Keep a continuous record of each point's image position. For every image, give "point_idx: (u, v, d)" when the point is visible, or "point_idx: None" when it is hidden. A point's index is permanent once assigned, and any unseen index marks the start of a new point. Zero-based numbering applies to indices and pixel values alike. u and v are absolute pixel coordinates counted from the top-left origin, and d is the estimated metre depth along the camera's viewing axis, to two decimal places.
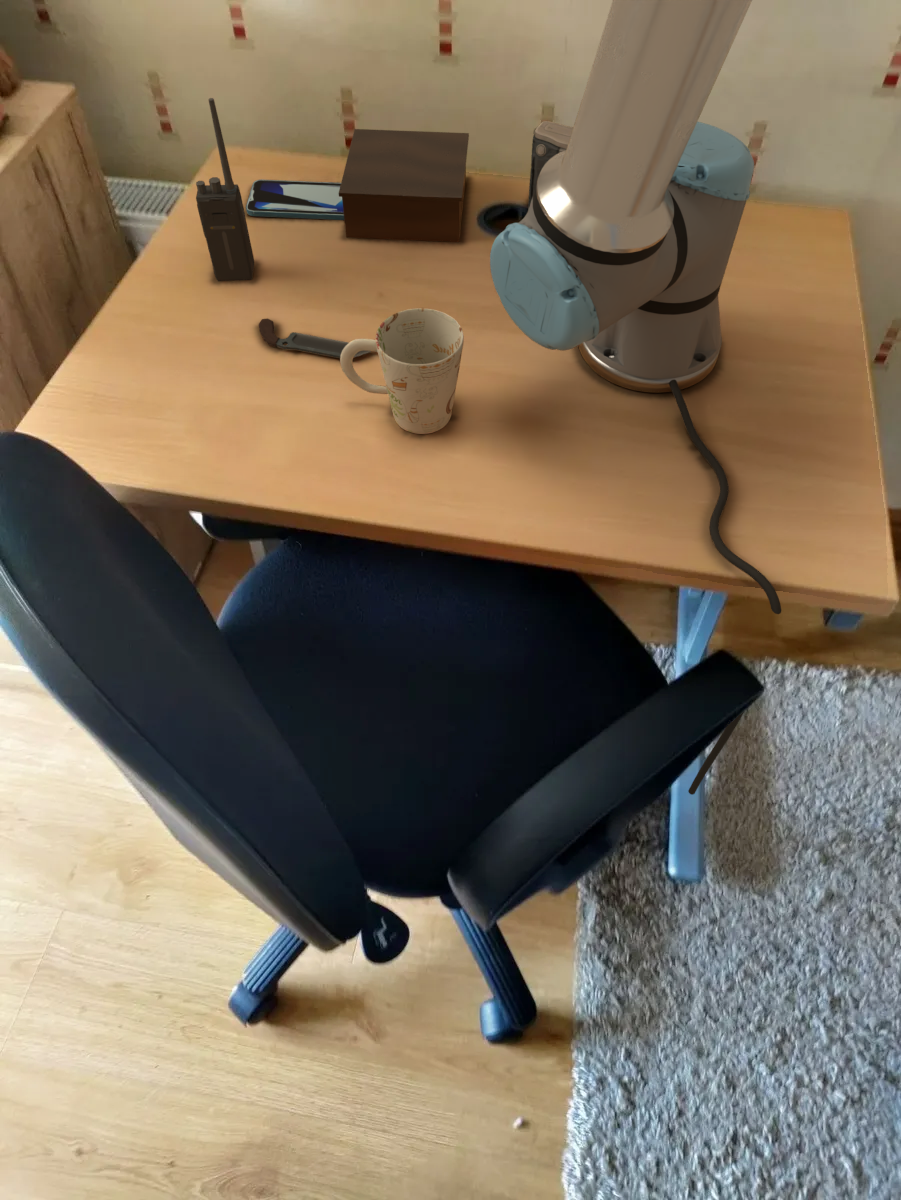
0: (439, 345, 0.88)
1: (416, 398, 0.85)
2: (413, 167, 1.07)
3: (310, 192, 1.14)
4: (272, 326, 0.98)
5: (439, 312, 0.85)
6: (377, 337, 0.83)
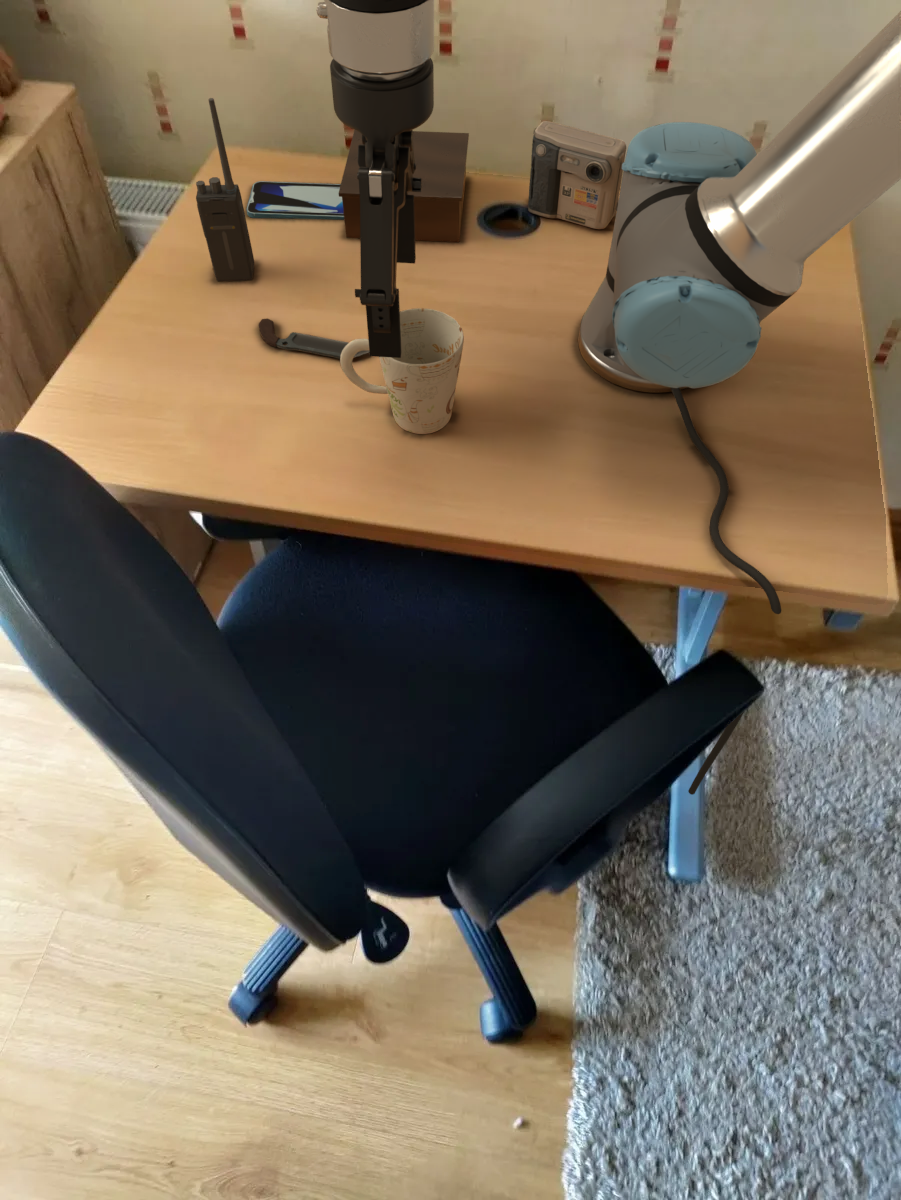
0: (439, 345, 0.88)
1: (416, 398, 0.85)
2: None
3: (310, 193, 1.14)
4: (272, 326, 0.98)
5: (439, 312, 0.85)
6: None
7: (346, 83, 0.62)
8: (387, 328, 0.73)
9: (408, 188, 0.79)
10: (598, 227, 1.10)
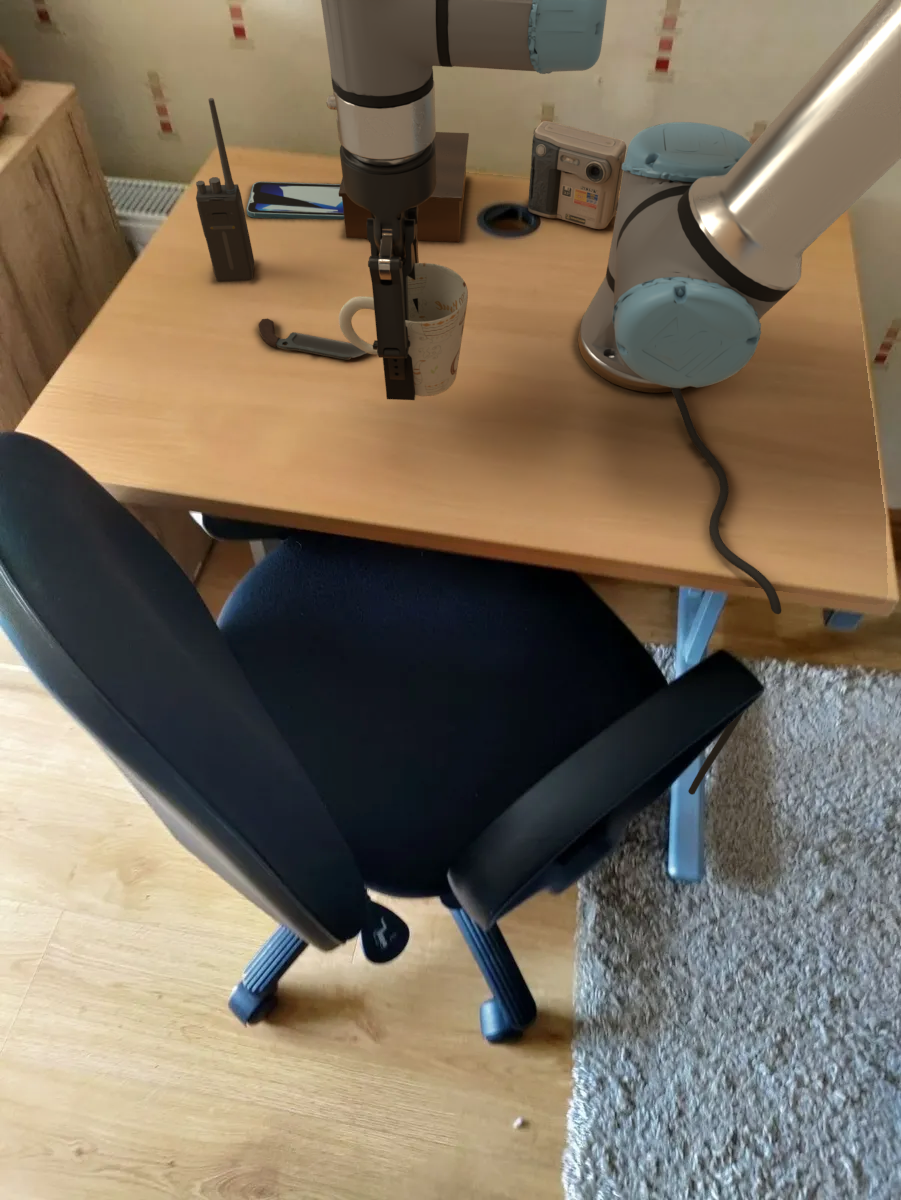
0: (442, 302, 0.84)
1: (419, 358, 0.81)
2: None
3: (310, 193, 1.14)
4: (272, 326, 0.98)
5: (441, 267, 0.81)
6: None
7: (355, 168, 0.67)
8: (402, 375, 0.81)
9: None
10: (598, 227, 1.10)
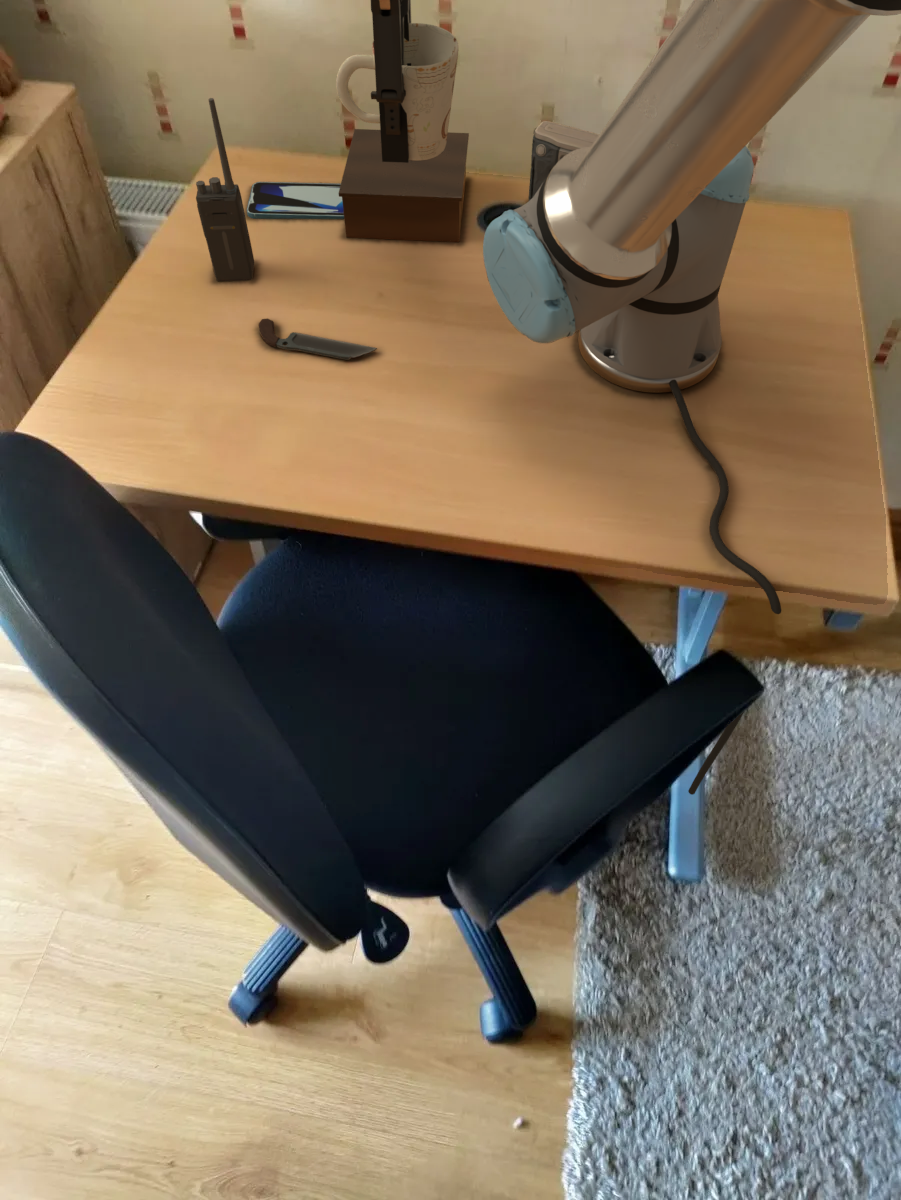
0: None
1: (413, 112, 0.87)
2: (413, 167, 1.07)
3: (309, 193, 1.14)
4: (272, 326, 0.98)
5: (433, 26, 0.87)
6: (373, 46, 0.85)
7: None
8: (397, 129, 0.87)
9: None
10: None
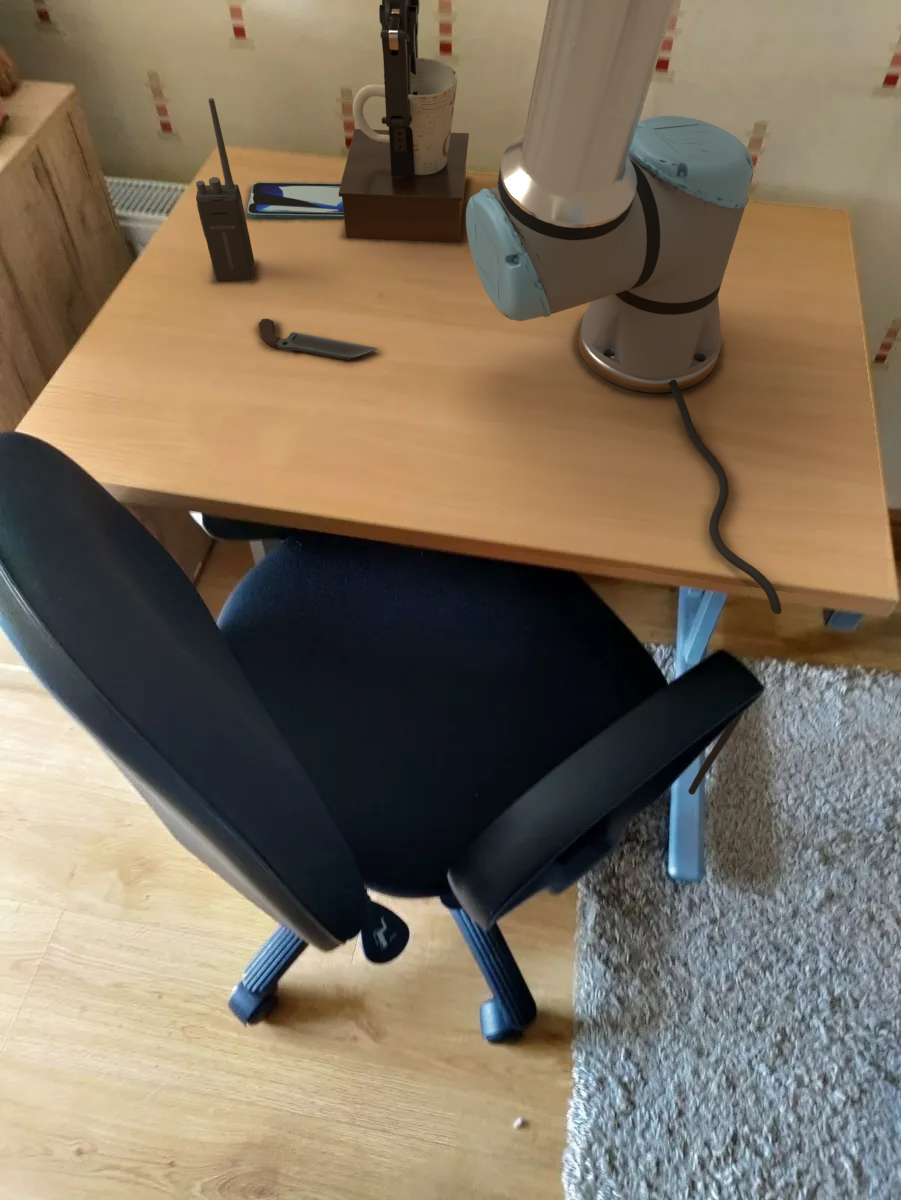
0: None
1: (417, 133, 1.01)
2: None
3: (309, 193, 1.14)
4: (272, 326, 0.98)
5: (436, 61, 1.01)
6: None
7: None
8: (404, 149, 1.02)
9: None
10: None
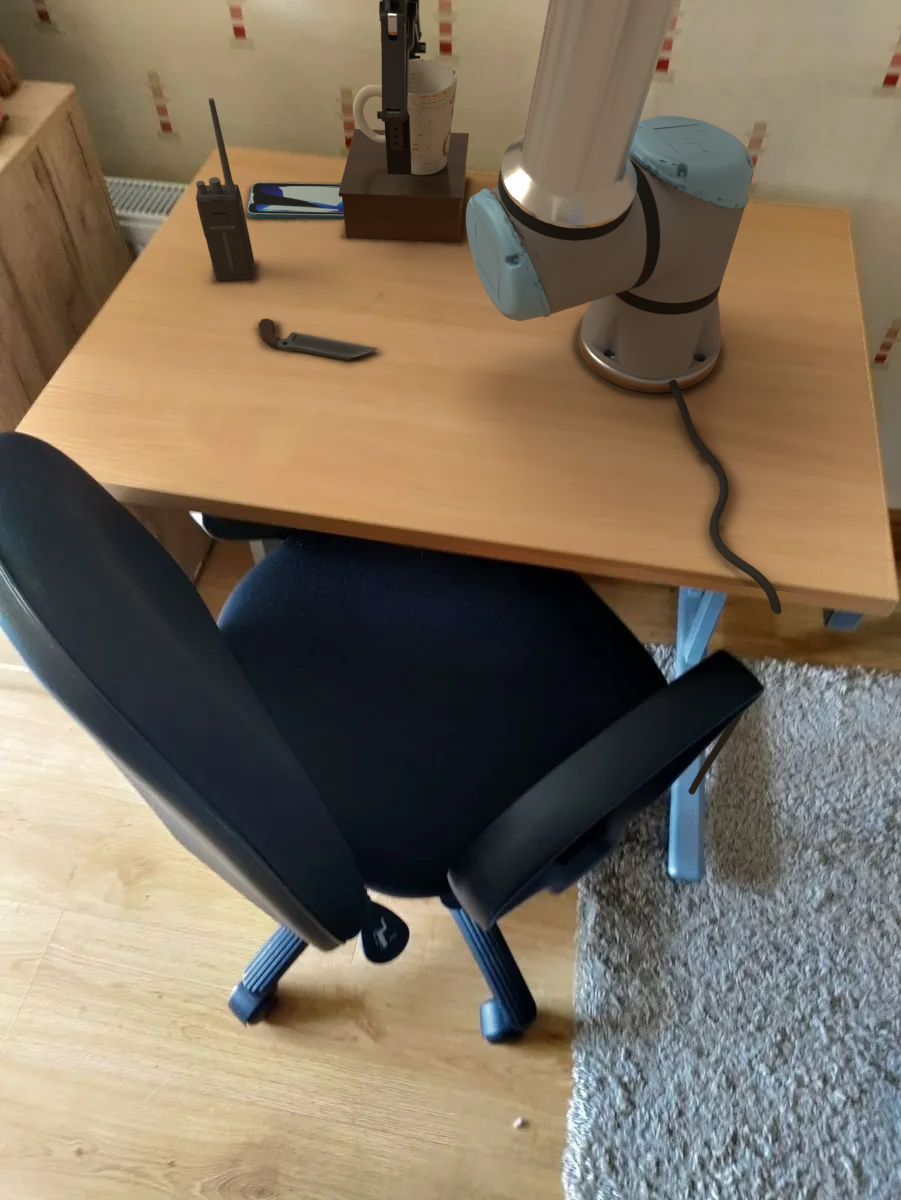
0: None
1: (417, 132, 1.01)
2: None
3: (309, 193, 1.14)
4: (272, 326, 0.98)
5: (436, 61, 1.02)
6: None
7: None
8: (401, 145, 0.98)
9: (416, 49, 1.04)
10: None
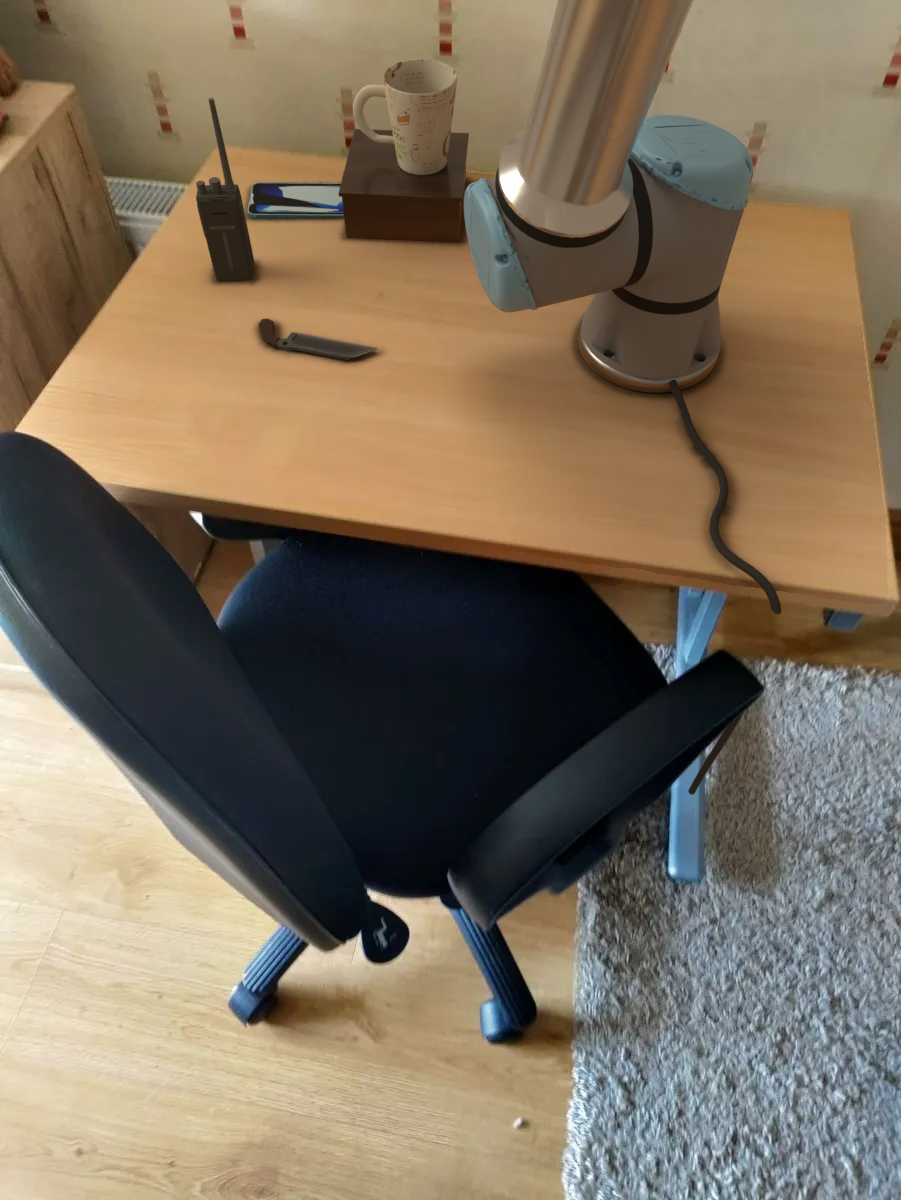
0: None
1: (417, 132, 1.01)
2: None
3: (309, 193, 1.14)
4: (272, 326, 0.98)
5: (436, 61, 1.02)
6: (384, 77, 1.00)
7: None
8: None
9: None
10: None
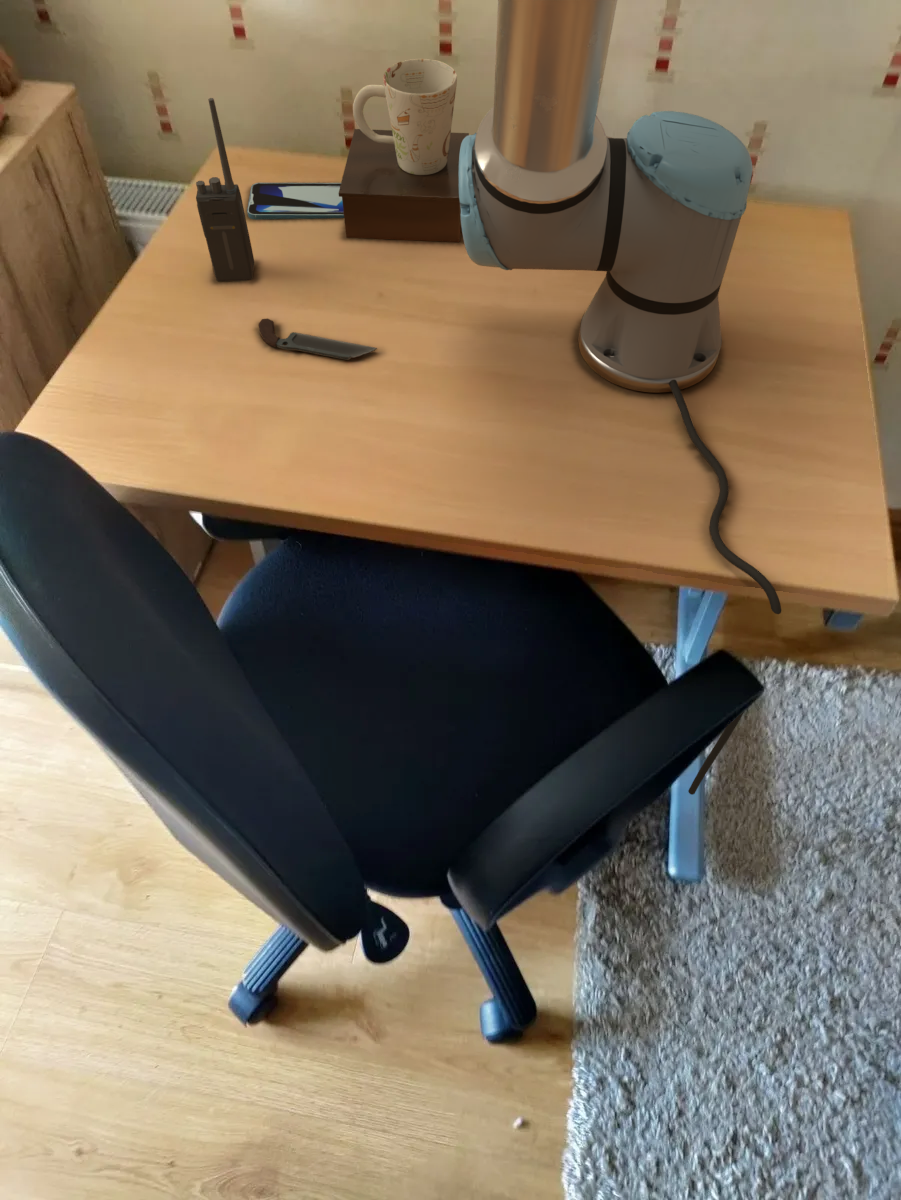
0: None
1: (417, 132, 1.01)
2: None
3: (309, 193, 1.14)
4: (272, 326, 0.98)
5: (436, 61, 1.02)
6: (384, 77, 1.00)
7: None
8: None
9: None
10: None
